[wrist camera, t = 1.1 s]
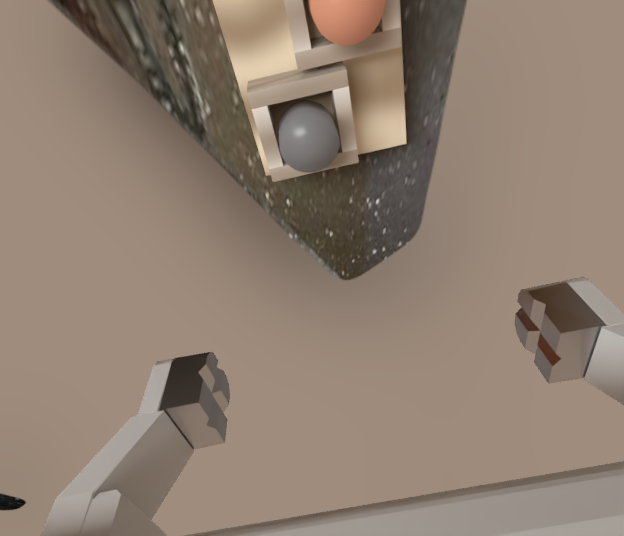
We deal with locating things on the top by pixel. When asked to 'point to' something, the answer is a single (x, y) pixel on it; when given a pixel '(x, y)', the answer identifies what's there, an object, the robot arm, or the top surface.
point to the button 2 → (308, 136)
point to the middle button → (346, 19)
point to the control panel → (315, 77)
